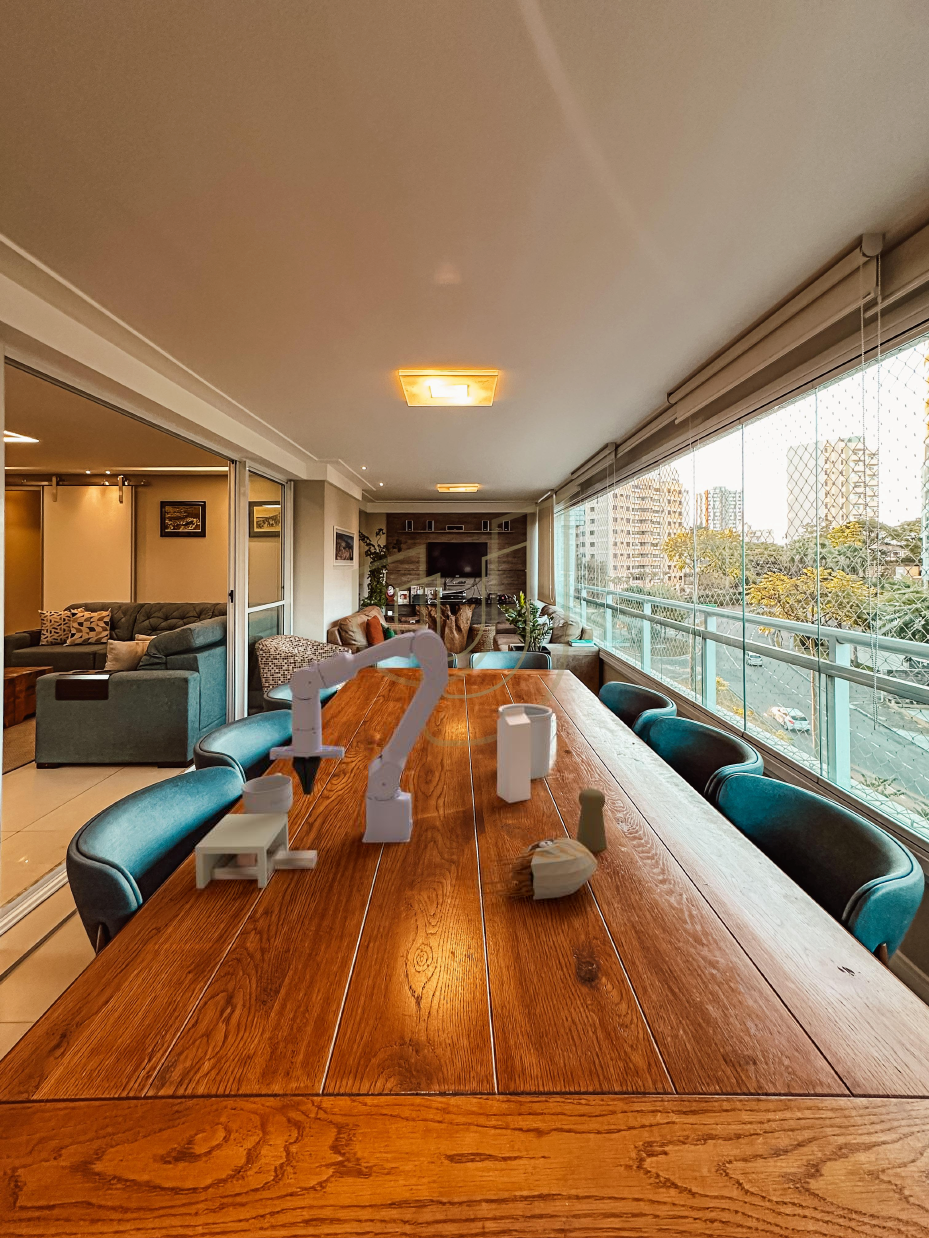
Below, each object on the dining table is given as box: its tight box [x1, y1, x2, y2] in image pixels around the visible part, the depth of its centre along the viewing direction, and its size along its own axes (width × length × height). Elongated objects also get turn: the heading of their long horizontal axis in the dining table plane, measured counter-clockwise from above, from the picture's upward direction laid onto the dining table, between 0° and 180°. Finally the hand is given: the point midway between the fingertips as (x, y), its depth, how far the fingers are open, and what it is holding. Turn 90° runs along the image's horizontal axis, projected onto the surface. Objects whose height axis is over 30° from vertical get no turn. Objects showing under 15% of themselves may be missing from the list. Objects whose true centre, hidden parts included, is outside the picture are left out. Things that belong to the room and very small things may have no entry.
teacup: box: [240, 772, 294, 814], centre depth 133 cm, size 14×11×8 cm
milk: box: [496, 707, 531, 804], centre depth 142 cm, size 6×6×22 cm
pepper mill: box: [576, 788, 608, 852], centre depth 117 cm, size 6×6×11 cm
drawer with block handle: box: [211, 843, 318, 880], centre depth 108 cm, size 17×10×2 cm, turn 91°
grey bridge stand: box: [194, 813, 290, 889], centre depth 107 cm, size 12×14×8 cm
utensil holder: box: [497, 703, 553, 780], centre depth 162 cm, size 15×15×18 cm
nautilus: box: [479, 837, 598, 903], centre depth 101 cm, size 8×22×15 cm
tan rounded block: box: [237, 853, 255, 867], centre depth 106 cm, size 3×3×4 cm
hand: (308, 793), depth 119 cm, fingers closed
